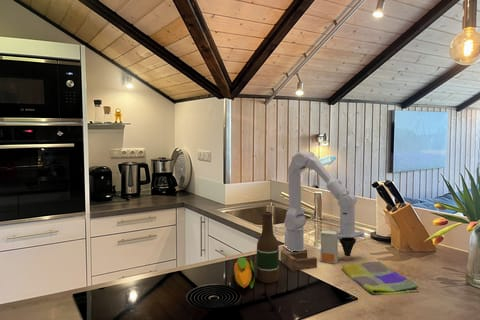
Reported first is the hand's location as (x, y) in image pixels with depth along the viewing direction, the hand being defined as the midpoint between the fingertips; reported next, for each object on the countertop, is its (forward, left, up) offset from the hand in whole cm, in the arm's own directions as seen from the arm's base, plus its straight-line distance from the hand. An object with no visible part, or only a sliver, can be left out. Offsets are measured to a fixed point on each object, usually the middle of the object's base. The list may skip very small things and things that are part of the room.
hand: (347, 255), depth 150 cm
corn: (+11, -47, -2) cm, 48 cm away
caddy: (0, -21, -1) cm, 21 cm away
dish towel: (+22, -2, -2) cm, 22 cm away
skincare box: (0, -8, -2) cm, 8 cm away
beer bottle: (+10, -38, -2) cm, 40 cm away
